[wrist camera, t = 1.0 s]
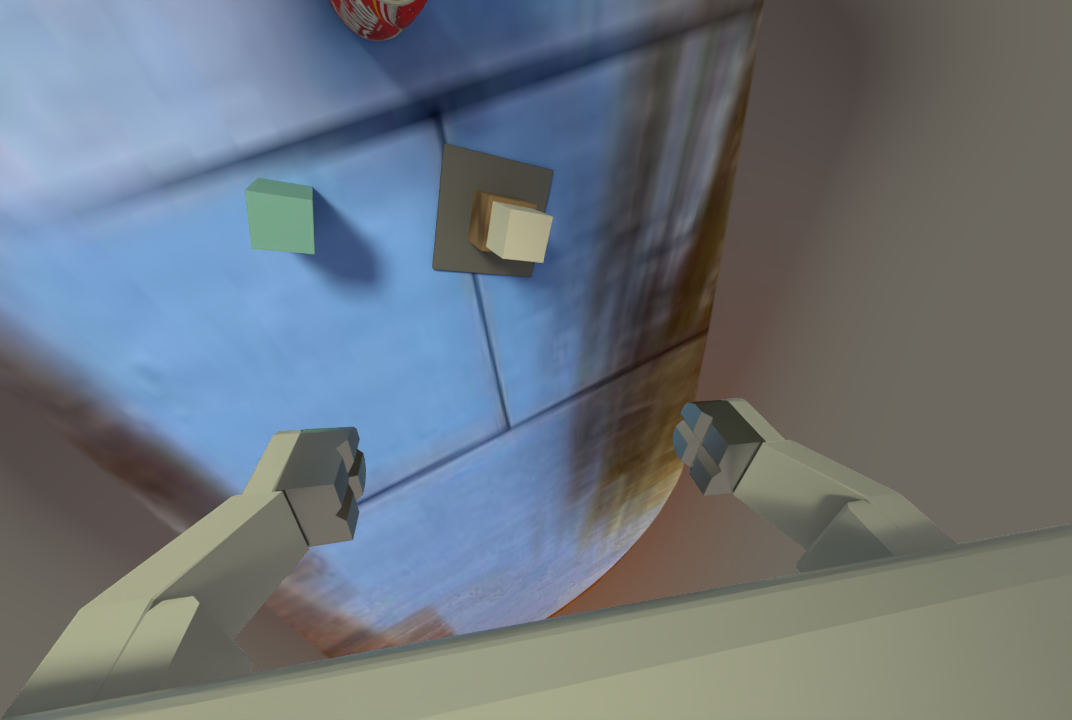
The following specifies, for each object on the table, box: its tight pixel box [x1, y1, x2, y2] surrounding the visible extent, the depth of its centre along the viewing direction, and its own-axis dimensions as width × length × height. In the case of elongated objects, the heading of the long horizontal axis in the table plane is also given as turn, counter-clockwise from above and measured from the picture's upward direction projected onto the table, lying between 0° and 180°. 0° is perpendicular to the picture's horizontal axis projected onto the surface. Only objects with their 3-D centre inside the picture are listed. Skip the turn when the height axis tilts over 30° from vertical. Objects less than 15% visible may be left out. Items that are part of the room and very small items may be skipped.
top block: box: [486, 201, 553, 263], centre depth 42 cm, size 5×5×5 cm
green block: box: [245, 178, 315, 254], centre depth 35 cm, size 4×4×9 cm
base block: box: [468, 190, 537, 252], centre depth 46 cm, size 6×6×5 cm
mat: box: [432, 143, 553, 277], centre depth 48 cm, size 14×14×1 cm
